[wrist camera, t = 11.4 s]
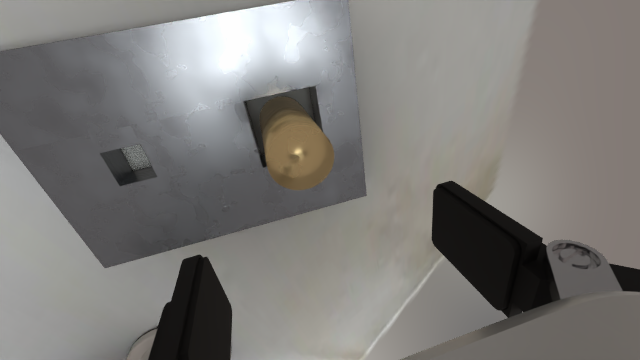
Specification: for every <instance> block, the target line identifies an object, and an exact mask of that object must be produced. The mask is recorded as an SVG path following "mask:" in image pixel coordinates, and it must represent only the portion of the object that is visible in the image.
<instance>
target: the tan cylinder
mask: <svg viewBox="0 0 640 360" xmlns="http://www.w3.org/2000/svg"><path fill="white" fill-rule="evenodd" d="M260 127H261V133H262V139H263V145H264V151H265V157H266V163H267V168H268V171H269V173H270V175H271V177H272V178H273V179H274V180H275V181H276V182H277V183H278V184H279V185H281V186H283V187H285V188H287V189H291V190H305V189H309V188H312V187H314V186H316V185H318V184H319V183H321V182H322V181H323V180H324V179H325V178H326V177H327V176H328V174H329V173H330V171H331V169H332V166H333V163H334V150H333V146H332V144H331V142H330V140H329V139H328V138H327V137H326V135H325V134H324V133H323V132H322V130H321V129H320V128H319V127H318V126H317V124H316V123H315V122H314V121H313V120H312V118H311V117H310V116H309V115H308V113H307V112H306V111H305V110H304V109H303V107H302V106H301V105H300V104H299V103H298V102H297V101H296V100H294V99H292V98H290V97H284V96H280V97H276V98H273V99H271V100H269V101H268V102H267V103H266V104H265V105H264V106H263V108H262V110H261V113H260Z"/></svg>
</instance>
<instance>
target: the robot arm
mask: <svg viewBox="0 0 640 360" xmlns="http://www.w3.org/2000/svg"><path fill="white" fill-rule="evenodd" d="M542 239H543V238H541V237H540V236H538V235H537V234H535V233H533V232H532V231H530V230H529V229H527V228H526V227H524V226H522V225H521V224H519V223H518V222H516V221H515V220H513V219H512V218H510V217H508V216H506V215H505V214H503V213H502V212H501V211H499V210H497V209H496V208H494V207H493V206H491V205H490V204H488V203H486V202H485V201H483V200H482V199H480V198H479V197H477V196H475V195H474V194H472V193H471V192H469V191H468V190H466V189H465V188H463V187H461V186H460V185H458V184H457V183H455V182H453V181H448V182H445V183H441V184H438V185H437V187H436V189H434V192H433V218H432V242H433V244H434V246H435V247H436V248H437V249H438V250H439V251H440V252H441V253H442V254H443V255H444V256H445V257H446V258H447V259H448V260H449V261H450V262H451V263H452V264H453V265H454V266H455V268H457V270H458V271H459V272H460V273H461V274H462V275H463V276H464V277H465V278H466V279H467V280H468V281H469V282H470V283H471V284H472V285H473V286H474V287H475V288H476V289H477V290H478V291H479V292H480V293H481V294H482V295H483V297H484V298H485V299H486V300H487V301H488V302H489V303H490V304H491V305H492V306H493V307H494V308H495V309H497V310H501V311H502V312H503V313H504V314H505V315H506V316H507V317H508V318H507V319H504V320H502V321H500V322H496V323H494V324H491V325H489V326H486V327H483V328H481V329H478V330H475V331H473V332H470V333H468V334H465V335H462V336H460V337H457V338H454V339H452V340H449V341H447V342H444V343H441V344H439V345H437V346H434V347H431V348H429V349H426V350H423V351H421V352H418V353H416V354H413V355H411V356H408V357H405V358H403V359H400V360H640V270H639V269H634V268H629V267H624V266H619V265H614V264H609V263H608V262H607V260H606V258H605V257H604V256H603V255H602V254H601V253H600V252H598V251H597V250H595V249H594V248H592V247H590V246H588V245H585V244H582V243H580V242H575V241H570V240H556V241H552V242H550V243H549V244H548V245H547V246H546V245H545V244H543V243H542ZM522 311H523V313H522ZM231 330H232V308H231V304H230V302H229V300H228V298H227V296H226V294H225V292H224V290H223V288H222V286H221V284H220V282H219V280H218V278H217V275H216V273H215V271H214V269H213V267H212V265H211V263H210V261H209V259H208V258H207V257H204V258H203V257H202V256H201V255H196V256H193V257H190V258H186V259H184V260H183V261H182V264H181V268H180V271H179V275H178V278H177V282H176V286H175V289H174V293H173V296H172V300H171V302H168V303H167V304H166V305H165V307H164V309H163V312H162V315H161V318H160V322H159V325H158V328H157V329H155V330H152V331H150V332H148V333H147V334H145V335H143V336H142V337H141V338H139V339H138V340H137V341H136V342H135V343H134V345H133V346H132V347H131V349H130V352H129V354H128V357H127V360H230V358H231Z"/></svg>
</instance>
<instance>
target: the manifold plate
mask: <svg viewBox="0 0 640 360" xmlns="http://www.w3.org/2000/svg"><path fill="white" fill-rule="evenodd" d="M307 87H309V88H310V94H311V99H312V105H313V111H314V116H315V122H316V124H317V126H318V127H319V128H320V129H321V130H322V132H323V133H324V134H325V135H326V137H327V138H328V139H329V140H330V142H331V144H332V146H333V150H334V163H333V166H332V169H331V171H330V173H329V174H328V176H327V177H326V178H325V179H324V180H323V181H322V182H321V183H319V184H318V185H316V186H314V187H312V188H309V189H305V190H291V189H287V188H285V187H283V186H281V185H279V184H278V183H277V182H276V181H275V180H274V179H273V178H272V177H271V175H270V173H269V171H268V168H267V163H266V157H265V155H261V153H260V150H259V147H258V143H257V140H256V136H255V133H254V130H253V126H252V123H251V119H250V116H249V113H248V109H247V106H246V102H245V101H247V100H251V99H256V98H260V97H265V96H270V95H274V94H279V93H283V92H288V91H293V90H297V89H302V88H307ZM0 134H1V135H2V137H3V138H4V139H5V141H6V142H7V143H8V144H9V146H10V147H11V148H12V150H13V151H14V152H15V153H16V155H17V156H18V157H19V159H20V160H21V161H22V162H23V164H24V165H25V166H26V168H27V169H28V170H29V171H30V173H31V174H32V175H33V177H34V178H35V179H36V180H37V182H38V183H39V184H40V186H41V187H42V188H43V189H44V191H45V192H46V193H47V195H48V196H49V197H50V198H51V200H52V201H53V202H54V204H55V205H56V206H57V207H58V209H59V210H60V211H61V213H62V214H63V215H64V216H65V218H66V219H67V220H68V222H69V223H70V224H71V225H72V227H73V228H74V229H75V231H76V232H77V233H78V234H79V236H80V237H81V238H82V240H83V241H84V242H85V243H86V245H87V246H88V247H89V249H90V250H91V251H92V252H93V254H94V255H95V256H96V258H97V259H98V260H99V261H100V263H101V264H102V265H103V267H104V268H108V267H111V266H115V265H118V264H122V263H126V262H129V261H133V260H136V259H140V258H144V257H147V256H151V255H154V254H158V253H162V252H165V251H169V250H172V249H176V248H180V247H183V246H187V245H190V244H194V243H198V242H201V241H205V240H208V239H212V238H216V237H219V236H223V235H226V234H230V233H234V232H237V231H241V230H244V229H248V228H251V227H255V226H259V225H262V224H266V223H269V222H273V221H277V220H280V219H284V218H287V217H291V216H295V215H298V214H302V213H305V212H309V211H313V210H316V209H320V208H323V207H327V206H331V205H334V204H338V203H341V202H345V201H349V200H352V199H356V198H359V197H363V196H367V195H366V185H365V174H364V163H363V152H362V142H361V131H360V120H359V109H358V98H357V88H356V77H355V66H354V55H353V45H352V34H351V23H350V12H349V2H348V0H296V1H290V2H284V3H278V4H273V5H267V6H261V7H255V8H249V9H244V10H238V11H232V12H226V13H221V14H215V15H209V16H203V17H197V18H192V19H186V20H180V21H174V22H168V23H163V24H157V25H151V26H145V27H139V28H134V29H128V30H122V31H116V32H111V33H105V34H99V35H93V36H87V37H82V38H76V39H70V40H64V41H58V42H53V43H47V44H41V45H35V46H29V47H24V48H18V49H12V50H6V51H1V52H0ZM138 144H141V146H142V148H143V150H144V152H145V154H146V156H147V158H148V160H149V162H150V163H151V165H152V167H147V168H143V169H139V170H135V171H133V170H132V169H131V167H130V165H129V163H128V162H127V160H126V158H125V156H124V155H123V153H122V151H121V149H120V148H124V147H129V146H133V145H138Z"/></svg>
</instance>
